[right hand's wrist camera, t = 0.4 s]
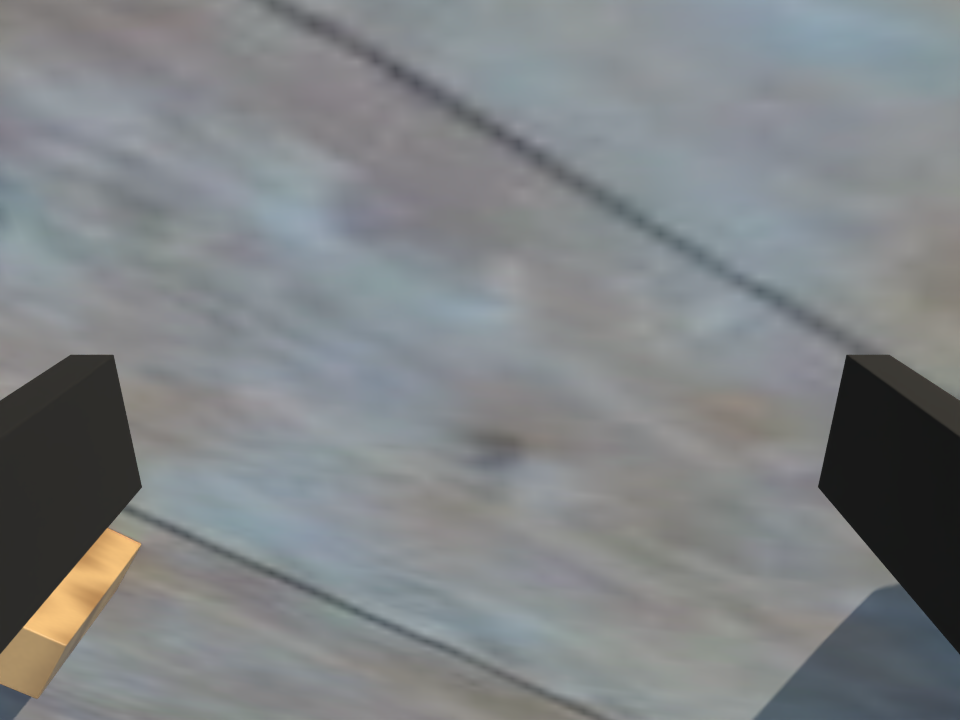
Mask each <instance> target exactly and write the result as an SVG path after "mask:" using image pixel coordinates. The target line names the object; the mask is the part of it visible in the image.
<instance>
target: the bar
mask: <svg viewBox="0 0 960 720" xmlns="http://www.w3.org/2000/svg"><path fill="white" fill-rule="evenodd" d="M140 546H141V544H140V543H138V542H136V541H134V540H132V539H130V538H128V537H126V536H123V535H121V534H119V533H117V532H115V531H113V530H111V529H109V528H107V529H106V530H105V531H104V532H103V534H102V535H101V536H100V537H99V538H98V540H97V541H96V542H95V543H94V544H93V545H92V547H91V548H90V549H89V550H88V551H87V553H86V554H85V555H84V556H83V557H82V558H81V560H80V561H79V562H78V563H77V564H76V565H75V567H74V568H73V569H72V570H71V571H70V573H69V574H68V575H67V576H66V577H65V578H64V580H63V581H62V582H61V583H60V584H59V586H58V587H57V588H56V589H55V590H54V591H53V593H52V594H51V595H50V596H49V597H48V599H47V600H46V601H45V602H44V603H43V604H42V606H41V607H40V608H39V609H38V610H37V611H36V613H35V614H34V615H33V616H32V617H31V619H30V620H29V621H28V622H27V623H26V624H25V626H24V627H23V628H22V629H21V630H20V632H19V633H18V634H17V635H16V636H15V637H14V639H13V640H12V641H11V642H10V643H9V645H8V646H7V647H6V648H5V649H4V650H3V652H2V653H1V654H0V684H2V685H4V686H6V687H9V688H11V689H14V690H16V691H19V692H21V693H23V694H26V695H28V696H31V697H33V698H36V699H38V698H39V697H40V695H41V694H42V693H43V691H44V690H45V688H46V687H47V686H48V684H49V683H50V681H51V680H52V679H53V677H54V676H55V675H56V673H57V672H58V670H59V669H60V668H61V666H62V665H63V663H64V662H65V661H66V659H67V658H68V657H69V655H70V654H71V652H72V651H73V650H74V648H75V647H76V646H77V644H78V643H79V641H80V640H81V639H82V637H83V636H84V634H85V633H86V632H87V630H88V629H89V628H90V626H91V625H92V623H93V622H94V621H95V619H96V618H97V616H98V615H99V614H100V612H101V611H102V610H103V608H104V607H105V605H106V604H107V603H108V601H109V600H110V599H111V597H112V596H113V594H114V593H115V592H116V590H117V588H118V586H119V584H120V583H121V581H122V579H123V577H124V575H125V574H126V572H127V570H128V568H129V566H130V564H131V563H132V561H133V559H134V557H135V555H136V554H137V552H138V550H139V548H140Z"/></svg>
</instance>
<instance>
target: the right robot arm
mask: <svg viewBox="0 0 960 720" xmlns="http://www.w3.org/2000/svg"><path fill="white" fill-rule="evenodd" d="M141 488H142V485H141V481H140V476H139V471H138V467H137V462H136V457H135V453H134V448H133V443H132V439H131V434H130V430H129V425H128V420H127V416H126V411H125V406H124V402H123V397H122V392H121V388H120V383H119V378H118V374H117V369H116V364H115V360H114V355H70V356H68V357H67V358H65V359H64V360H62V361H60V362H59V363H57V364H56V365H54V366H53V367H51V368H50V369H48V370H47V371H45V372H44V373H42V374H41V375H39V376H37V377H36V378H34V379H33V380H31V381H30V382H28V383H27V384H25V385H24V386H22V387H21V388H19V389H17V390H16V391H14V392H13V393H11V394H10V395H8V396H7V397H5V398H4V399H2V400H1V401H0V654H1V653H2V652H3V650H4V649H5V648H6V647H7V646H8V645H9V643H10V642H11V641H12V640H13V639H14V637H15V636H16V635H17V634H18V633H19V632H20V630H21V629H22V628H23V627H24V626H25V624H26V623H27V622H28V621H29V620H30V619H31V617H32V616H33V615H34V614H35V613H36V611H37V610H38V609H39V608H40V607H41V606H42V604H43V603H44V602H45V601H46V600H47V599H48V597H49V596H50V595H51V594H52V593H53V591H54V590H55V589H56V588H57V587H58V586H59V584H60V583H61V582H62V581H63V580H64V578H65V577H66V576H67V575H68V574H69V573H70V571H71V570H72V569H73V568H74V567H75V565H76V564H77V563H78V562H79V561H80V560H81V558H82V557H83V556H84V555H85V554H86V553H87V551H88V550H89V549H90V548H91V547H92V545H93V544H94V543H95V542H96V541H97V540H98V538H99V537H100V536H101V535H102V534H103V532H104V531H105V530H106V529H107V528H108V527H109V525H110V524H111V523H112V522H113V521H114V519H115V518H116V517H117V516H118V515H119V514H120V512H121V511H122V510H123V509H124V508H125V506H126V505H127V504H128V503H129V502H130V501H131V499H132V498H133V497H134V496H135V495H136V494H137V492H138V491H139V490H140V489H141ZM818 488H819V489H820V490H821V491H822V492H823V494H824V495H825V496H826V497H827V498H828V499H829V501H830V502H831V503H832V504H833V505H834V506H835V508H836V509H837V510H838V511H839V512H840V514H841V515H842V516H843V517H844V518H845V519H846V521H847V522H848V523H849V524H850V525H851V527H852V528H853V529H854V530H855V531H856V532H857V534H858V535H859V536H860V537H861V538H862V540H863V541H864V542H865V543H866V544H867V545H868V547H869V548H870V549H871V550H872V551H873V553H874V554H875V555H876V556H877V557H878V558H879V560H880V561H881V562H882V563H883V564H884V565H885V567H886V568H887V569H888V570H889V571H890V573H891V574H892V575H893V576H894V577H895V578H896V580H897V581H898V582H899V583H900V584H901V586H902V587H903V588H904V589H905V590H906V591H907V593H908V594H909V595H910V596H911V597H912V599H913V600H914V601H915V602H916V603H917V604H918V606H919V607H920V608H921V609H922V610H923V611H924V613H925V614H926V615H927V616H928V617H929V619H930V620H931V621H932V622H933V623H934V624H935V626H936V627H937V628H938V629H939V630H940V632H941V633H942V634H943V635H944V636H945V637H946V639H947V640H948V641H949V642H950V643H951V645H952V646H953V647H954V648H955V649H956V650H957V652H958V653H959V654H960V401H959V400H958V399H956V398H955V397H953V396H952V395H950V394H949V393H947V392H946V391H944V390H943V389H941V388H939V387H938V386H936V385H935V384H933V383H932V382H930V381H929V380H927V379H926V378H924V377H923V376H921V375H919V374H918V373H916V372H915V371H913V370H912V369H910V368H909V367H907V366H906V365H904V364H903V363H901V362H900V361H898V360H896V359H895V358H893V357H892V356H890V355H846V360H845V364H844V369H843V374H842V378H841V383H840V388H839V392H838V397H837V402H836V406H835V411H834V416H833V420H832V425H831V430H830V434H829V439H828V443H827V448H826V453H825V457H824V462H823V467H822V471H821V476H820V481H819V485H818Z"/></svg>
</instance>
